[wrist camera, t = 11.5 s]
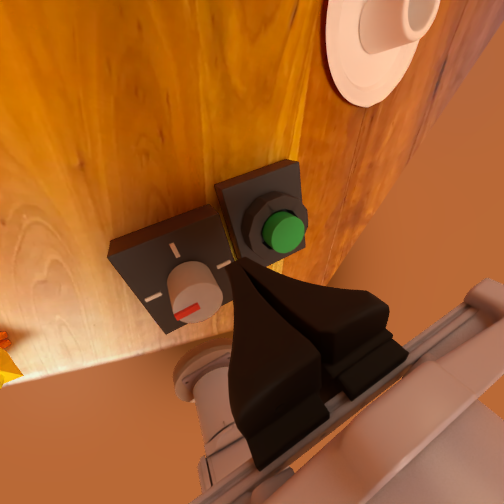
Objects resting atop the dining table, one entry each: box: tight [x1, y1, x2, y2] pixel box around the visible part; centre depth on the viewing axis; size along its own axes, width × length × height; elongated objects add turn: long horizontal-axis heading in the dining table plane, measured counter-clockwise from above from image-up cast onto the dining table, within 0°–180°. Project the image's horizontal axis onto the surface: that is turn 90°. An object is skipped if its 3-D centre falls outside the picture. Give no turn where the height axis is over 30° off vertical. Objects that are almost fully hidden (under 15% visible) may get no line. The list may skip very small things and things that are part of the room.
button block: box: [214, 159, 308, 267], centre depth 22 cm, size 10×8×4 cm
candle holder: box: [326, 0, 440, 107], centre depth 18 cm, size 12×12×4 cm
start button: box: [262, 211, 304, 253], centre depth 20 cm, size 4×4×2 cm
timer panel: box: [107, 204, 234, 334], centre depth 21 cm, size 10×9×3 cm
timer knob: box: [167, 261, 223, 323], centre depth 18 cm, size 4×4×4 cm
